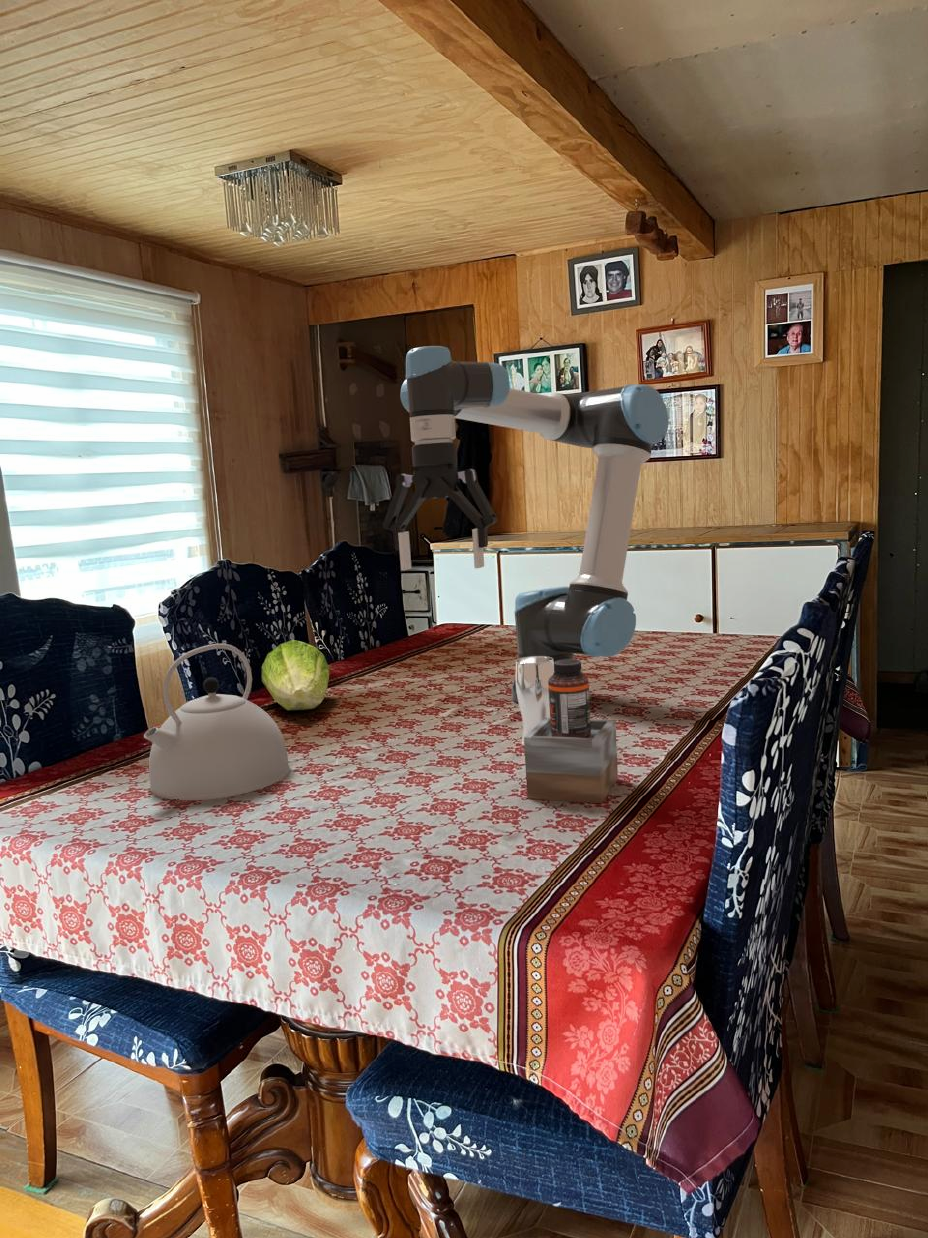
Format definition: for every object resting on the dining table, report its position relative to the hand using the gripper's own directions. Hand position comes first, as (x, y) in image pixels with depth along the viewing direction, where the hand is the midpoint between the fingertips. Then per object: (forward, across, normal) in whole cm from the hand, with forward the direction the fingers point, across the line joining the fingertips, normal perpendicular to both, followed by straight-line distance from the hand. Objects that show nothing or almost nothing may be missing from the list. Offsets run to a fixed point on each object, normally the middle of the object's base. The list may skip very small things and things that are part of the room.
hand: (442, 568), depth 160 cm
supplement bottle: (+24, +26, -17) cm, 39 cm away
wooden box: (+32, +26, -17) cm, 44 cm away
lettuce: (+32, -45, +22) cm, 59 cm away
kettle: (+32, -34, -23) cm, 52 cm away
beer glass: (+32, +14, +5) cm, 35 cm away
